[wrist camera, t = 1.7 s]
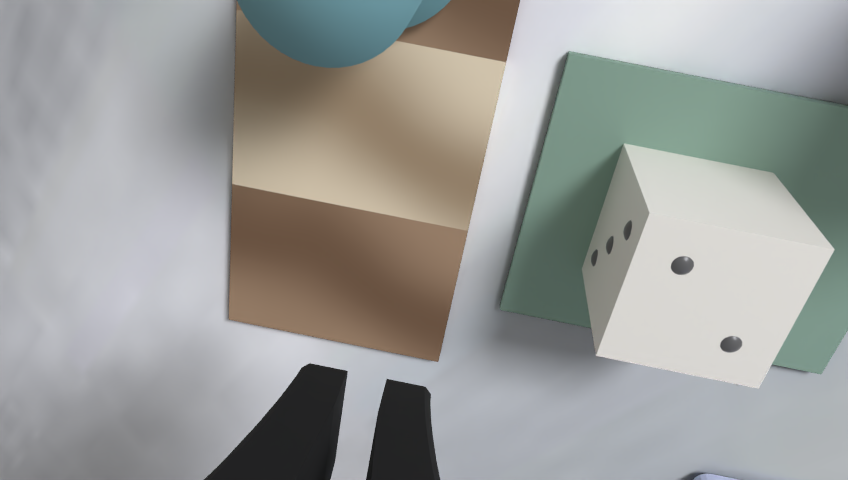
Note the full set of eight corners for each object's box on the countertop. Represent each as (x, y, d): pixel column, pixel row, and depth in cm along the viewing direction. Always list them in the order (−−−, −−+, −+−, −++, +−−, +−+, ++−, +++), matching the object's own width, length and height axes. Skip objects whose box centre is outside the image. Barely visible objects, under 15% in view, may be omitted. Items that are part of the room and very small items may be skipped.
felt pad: (817, 367, 21) (821, 374, 21) (500, 304, 22) (499, 309, 21) (960, 127, 17) (967, 131, 17) (568, 51, 18) (569, 54, 17)
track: (439, 356, 23) (438, 361, 23) (231, 314, 23) (228, 319, 23) (626, -473, 13) (628, -479, 12) (255, -540, 13) (249, -549, 13)
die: (715, 298, 20) (758, 394, 17) (577, 270, 20) (591, 360, 17) (773, 173, 18) (836, 252, 15) (620, 142, 18) (645, 214, 15)
